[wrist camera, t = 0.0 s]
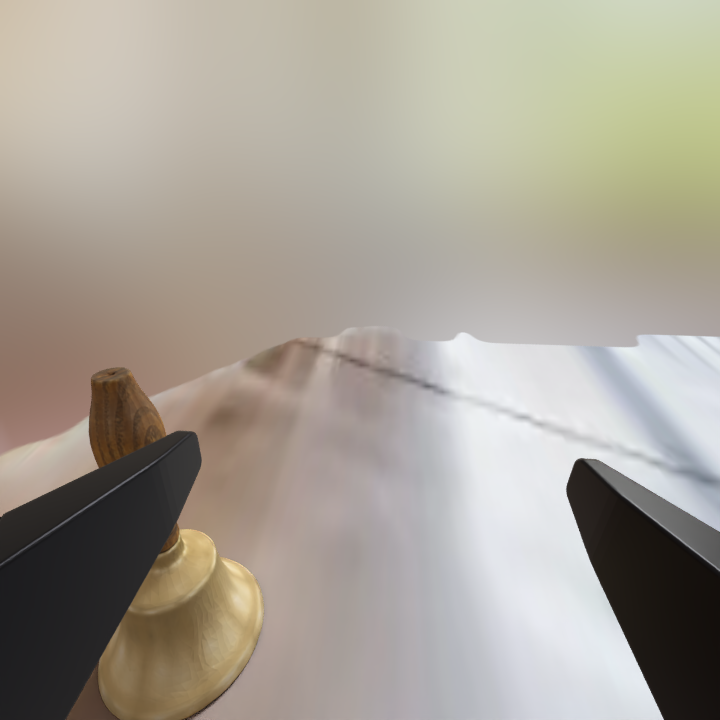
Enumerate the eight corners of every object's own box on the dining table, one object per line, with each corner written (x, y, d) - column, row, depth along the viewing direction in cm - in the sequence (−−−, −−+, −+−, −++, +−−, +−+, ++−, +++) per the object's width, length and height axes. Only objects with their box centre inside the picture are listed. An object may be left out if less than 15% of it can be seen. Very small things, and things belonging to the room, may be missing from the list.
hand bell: (70, 760, 15) (-126, 465, 9) (123, 580, 22) (38, 343, 16) (269, 691, 18) (231, 417, 11) (259, 547, 25) (233, 330, 18)
